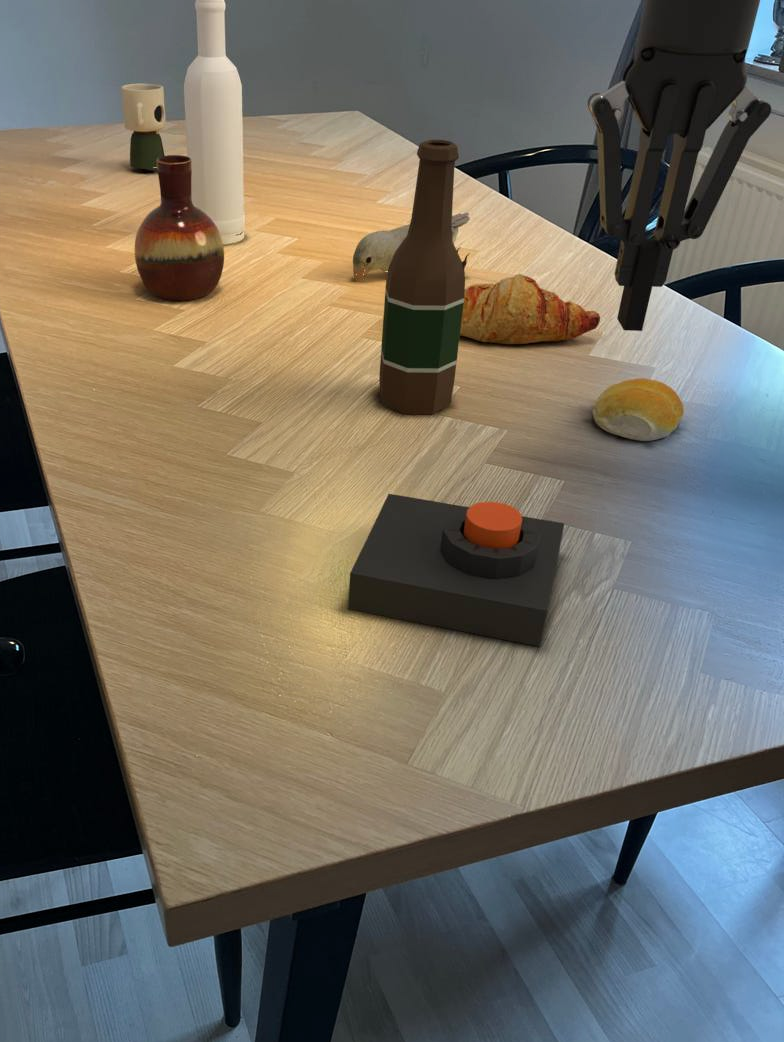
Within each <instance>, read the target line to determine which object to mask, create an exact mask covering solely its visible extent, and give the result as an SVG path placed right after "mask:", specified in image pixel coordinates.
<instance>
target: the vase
mask: <svg viewBox="0 0 784 1042" xmlns="http://www.w3.org/2000/svg"><path fill="white" fill-rule="evenodd" d="M157 169H158V170H157V175H158V180H159V181H158V183H159V184H158V185H159V191H160V204H159V205H158V206H157V207H156V208H153V209H152V210H151V211H150V212H149V213H148V214H147V215H146V216H145V217H144V218H143V220H142V222H141V223H140V225H139V227H138V229H137V231H136V234H135V239H134V260H135V265H136V268H137V271H138V274H139V277H140V279H141V282H142V283H143V285H144V287H145V288H146V289H147V290H148V292H150V293H151V294H152V295H153V296H155V297H157V298H159V299H162V300H167V301H174V302H175V301H176V302H185V301H186V302H187V301H194V300H199V299H203V298H206V297H207V296H209V295H210V294H211V293H213V291H214V290H215V289H216V288H217V286H218V285H219V282H220V281H221V277H222V274H223V270H224V263H225V247H224V246H225V245H223V241H222V237H221V234H220V232H219V230H218V228H217V226H216V225H215V223H214V222H213V220H212V219H211V218H210V217H209V216H208V215H207V214H206V213H205V212H204V211H202V210H201V209H200V208H198V207H196V206H194V205H193V202H192V192H191V176H192V160H191V158H189V157H187V155H182V154H181V155H179V154H170V155H169V154H168V155H165V156H162V157H159V158H157Z"/></svg>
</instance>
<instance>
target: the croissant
mask: <svg viewBox="0 0 784 1042" xmlns="http://www.w3.org/2000/svg"><path fill="white" fill-rule="evenodd" d="M600 322H601V316H600V314H599V312H597V311H595V310H586V309H584V308H583V307H582V306H581V305H580V304H578V303H575V302H573V301H564V300H562V299H561V298H560V297H559V295H558V294H556V292H554V291H550V290H547V289H544V288H542V287H540V285H538V283H537V281H536V280H535V279H534V278H533V277H529V276H527V275H524V274H522V273H518V274H515V275H514V276H509V277H505V278H502V279H501V280H499V282H496V283H474V284H471V285H470V286H467V287H465V294H464V305H463V313H462V321H461V330H460V337H461V336H462V337H466V338H469V339H471V340H475V341H479V342H482V343H495V344H500V345H501V344H502V345H525V344H529V343H530V344H531V343H533V344H534V343H539V342H559V341H564V340H569V339H575V338H579V337H580V336H582V335H584V334H587V333H588V332H590V331H593V330H596V328H598V326H599V324H600Z"/></svg>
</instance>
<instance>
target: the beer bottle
mask: <svg viewBox="0 0 784 1042" xmlns="http://www.w3.org/2000/svg"><path fill="white" fill-rule="evenodd" d="M416 155H417V157H418V159H419V162H418V169H417V176H416V184H415V190H414V198H413V205H412V212H411V218H410V222H409V224H410V226H409V230H408V234H407V237H406V238H405V239H404V241H403V242H402V243H401V245H400V246H399V247H398V249H397V250H396V251H395V253H394V256H393V258H392V260H391V263H390V265H389V268H388V273H386V282H385V290H384V304H383V317H382V332H381V347H380V360H379V374H378V375H379V377H378V378H379V380H378V381H379V383H378V385H379V386H378V387H379V390H378V391H379V395H380V401H381V404H382V406H383V407H385V408H388V409H391V410H393V411H395V412H399V413H401V414H403V415H433V414H435V413H438V412H440V411H441V410H443V409H445V408H447V407H449V406H450V404H451V402H452V398H453V393H454V392H453V391H454V387H455V378H456V370H457V362H458V354H459V346H460V345H459V344H460V339H461V338H460V337H461V335H460V330H461V321H462V313H463V305H464V294H465V289H466V274H464V272H465V269H464V270H463V266H462V262H463V260H462V258H461V257H460V254H459V251H458V252H457V248H456V246H455V243H454V244H453V240H452V215H453V206H454V205H453V204H454V203H453V202H454V184H455V183H454V181H455V162H456V161H458V159H460V157H459V150H458V146H457V145H456V143H455V142H452V141H450V140H445V139H429V140H424V141H422V142H420V143H419V145H418V148H417V151H416Z"/></svg>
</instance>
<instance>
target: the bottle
mask: <svg viewBox="0 0 784 1042" xmlns="http://www.w3.org/2000/svg"><path fill="white" fill-rule="evenodd" d="M226 8H227V7H226V1H225V0H195V2H194V9H195V11H196V12H195V13H196V14H195V15H196V34H197V35H196V36H197V39H196V40H197V56H196V57H195V58H194V59H193V61H192V62H190V63H191V64H189V66H188V67H187V70H186V73H185V78H184V84H183V99H184V100H183V101H184V118H185V119H184V120H185V121H184V122H185V137H186V139H185V140H186V156H187V157H189V158H191V160H192V176H191V192H192V202H193V205H194V206H196V207H198V208H200V209H201V210H202V211H204V212H205V213H206V214H207V215H208V216H209V217H210V218H211V219H212V220H213V222H214V223H215V225H216V226H217V228H218V230H219V232H220V234H221V237H228V236H234V235H236V234H240V233H241V232H242V231H244V232H243V233H242V234H241V235H238V236H234V237H229V238H222V241H223V246H227V245H232V244H236V243H239V242H241V241H242V240H244V238H245V226H246V216H245V194H244V193H245V190H244V189H245V187H244V186H245V185H244V134H243V133H244V131H243V129H244V128H243V85H242V82H241V78H240V74H239V71H238V68H237V67H236V65H235V64H234V63H233V62H232V61H231V59H229V57H228V56H227V55H226V52H227V51H226V20H225V19H226V17H225V14H226V13H225V11H226Z"/></svg>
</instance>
